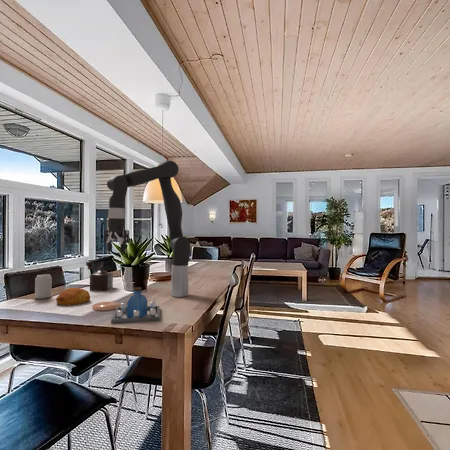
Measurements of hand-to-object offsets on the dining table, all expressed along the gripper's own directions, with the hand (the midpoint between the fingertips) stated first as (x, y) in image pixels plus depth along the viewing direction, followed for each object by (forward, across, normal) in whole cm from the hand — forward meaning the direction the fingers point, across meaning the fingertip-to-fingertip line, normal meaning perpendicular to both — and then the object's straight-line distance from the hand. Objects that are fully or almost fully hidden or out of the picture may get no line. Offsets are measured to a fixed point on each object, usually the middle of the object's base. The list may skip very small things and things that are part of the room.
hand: (116, 251), depth 144 cm
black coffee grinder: (+27, +37, -22) cm, 51 cm away
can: (+26, +46, +6) cm, 53 cm away
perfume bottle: (+27, -19, +5) cm, 33 cm away
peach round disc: (+26, +3, +3) cm, 27 cm away
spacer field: (+26, -19, +5) cm, 33 cm away
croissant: (+27, +25, +4) cm, 37 cm away
